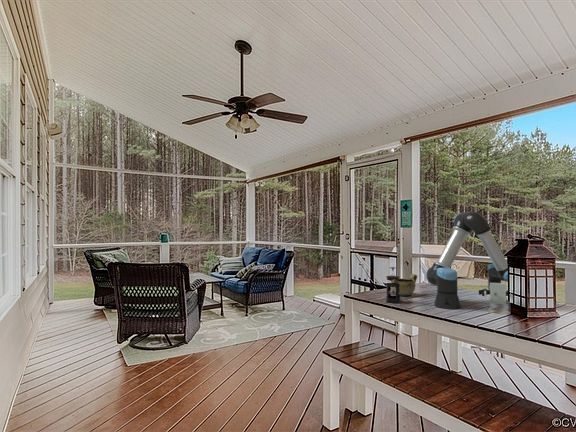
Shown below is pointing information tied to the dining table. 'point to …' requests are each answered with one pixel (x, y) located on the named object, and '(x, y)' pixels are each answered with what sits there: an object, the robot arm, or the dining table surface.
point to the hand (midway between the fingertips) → (498, 296)
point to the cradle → (499, 308)
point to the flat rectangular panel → (498, 293)
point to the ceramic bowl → (405, 285)
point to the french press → (393, 298)
